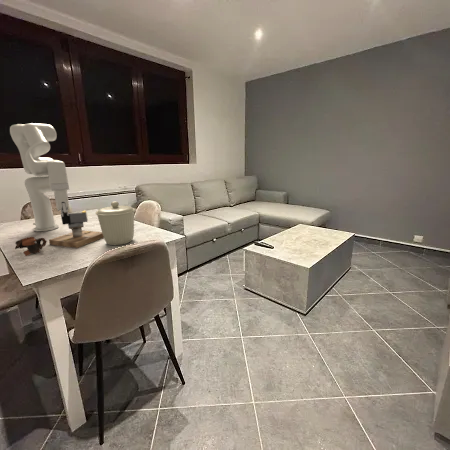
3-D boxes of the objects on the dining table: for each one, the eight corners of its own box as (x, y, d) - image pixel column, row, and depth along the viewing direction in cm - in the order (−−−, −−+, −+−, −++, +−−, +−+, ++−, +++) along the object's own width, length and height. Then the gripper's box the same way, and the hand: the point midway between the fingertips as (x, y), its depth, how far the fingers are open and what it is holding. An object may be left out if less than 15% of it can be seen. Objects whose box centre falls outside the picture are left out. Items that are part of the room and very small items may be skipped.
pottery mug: (17, 259, 109) (9, 242, 109) (25, 261, 117) (17, 245, 117) (48, 247, 114) (40, 231, 114) (53, 249, 122) (46, 234, 122)
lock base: (49, 244, 125) (46, 231, 123) (79, 234, 141) (77, 222, 140) (77, 248, 120) (74, 234, 118) (105, 236, 136) (103, 224, 134)
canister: (102, 239, 132) (96, 200, 127) (137, 235, 138) (133, 197, 133) (98, 250, 116) (91, 206, 110) (139, 245, 122) (134, 203, 117)
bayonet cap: (62, 230, 124) (59, 214, 121) (65, 226, 130) (62, 211, 127) (87, 227, 128) (85, 212, 125) (88, 224, 134) (86, 209, 132)
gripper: (49, 185, 126) (56, 220, 131) (51, 189, 113) (58, 228, 118) (67, 184, 130) (73, 218, 135) (70, 188, 117) (77, 225, 122)
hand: (66, 222), depth 126 cm, fingers closed on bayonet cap, 3 cm apart
